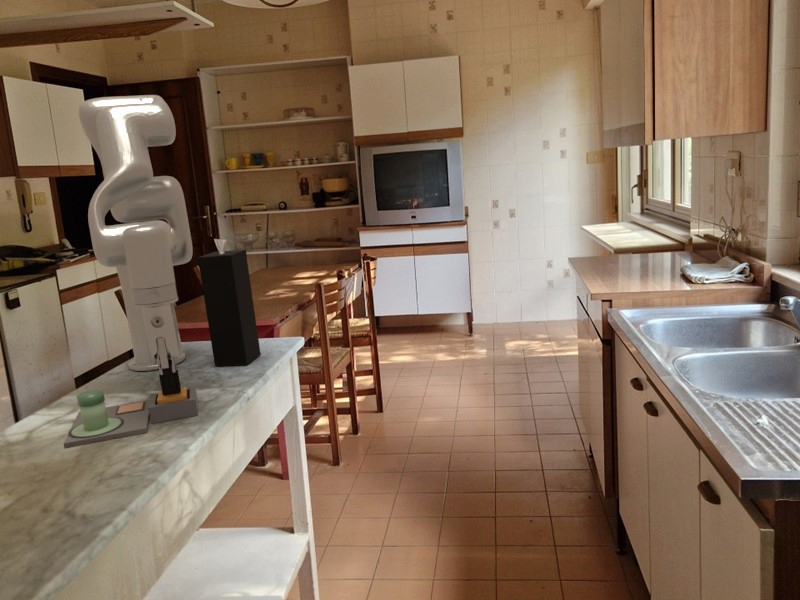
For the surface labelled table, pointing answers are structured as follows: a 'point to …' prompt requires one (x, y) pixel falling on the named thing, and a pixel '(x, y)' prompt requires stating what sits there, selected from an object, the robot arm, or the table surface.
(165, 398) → the button
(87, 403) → the green capped cylinder
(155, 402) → the button housing
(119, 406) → the colouring board
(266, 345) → the table surface
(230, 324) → the tissue box
